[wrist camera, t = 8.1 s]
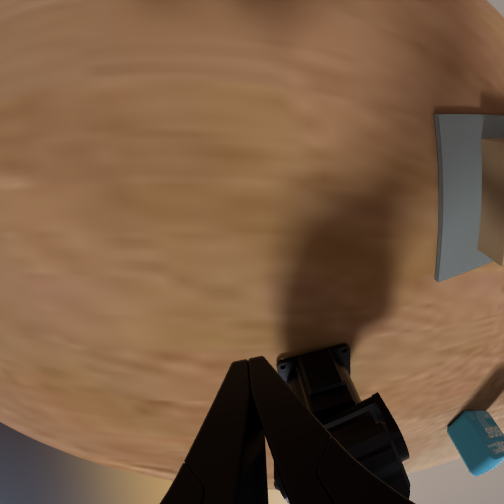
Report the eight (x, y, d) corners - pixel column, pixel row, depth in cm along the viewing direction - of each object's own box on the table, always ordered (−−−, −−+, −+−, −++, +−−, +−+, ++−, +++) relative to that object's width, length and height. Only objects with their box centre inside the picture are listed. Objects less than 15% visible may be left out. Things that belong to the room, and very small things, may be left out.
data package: (487, 409, 39) (514, 451, 28) (471, 425, 40) (497, 467, 29) (461, 410, 36) (493, 460, 25) (443, 427, 37) (472, 478, 26)
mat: (525, 243, 24) (529, 245, 23) (434, 279, 24) (438, 282, 23) (531, 117, 18) (535, 118, 17) (433, 114, 18) (438, 114, 17)
